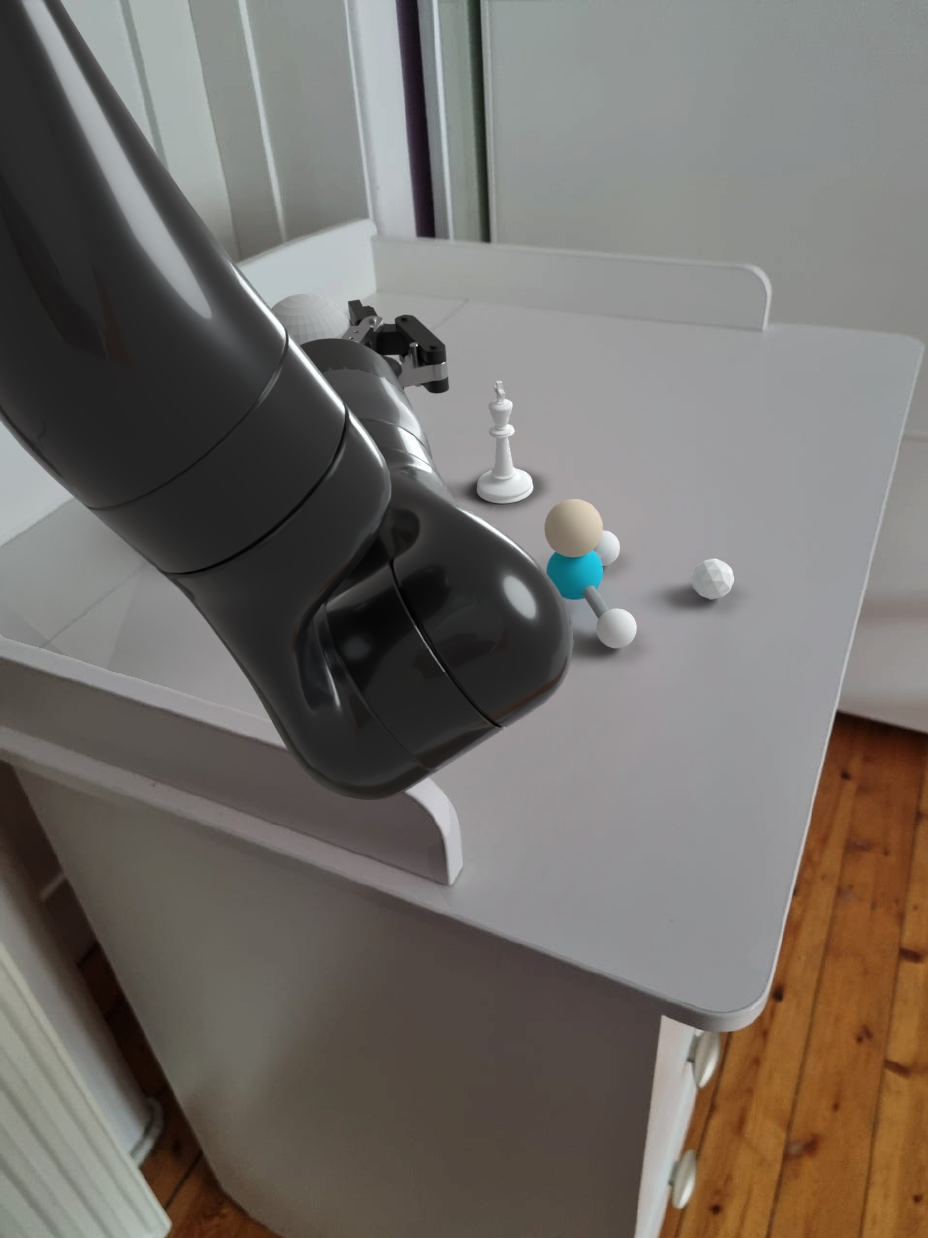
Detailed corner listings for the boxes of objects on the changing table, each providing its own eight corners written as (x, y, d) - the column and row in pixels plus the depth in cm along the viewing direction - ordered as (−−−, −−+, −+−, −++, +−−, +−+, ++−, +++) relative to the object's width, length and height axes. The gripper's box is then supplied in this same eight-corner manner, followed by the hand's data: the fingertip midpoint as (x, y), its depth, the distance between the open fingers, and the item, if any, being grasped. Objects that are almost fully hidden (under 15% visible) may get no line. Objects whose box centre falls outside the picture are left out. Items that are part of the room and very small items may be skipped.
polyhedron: (696, 610, 68) (700, 576, 66) (686, 585, 70) (689, 551, 68) (736, 606, 68) (740, 572, 66) (724, 581, 70) (728, 547, 68)
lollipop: (332, 486, 67) (293, 273, 58) (400, 504, 64) (371, 284, 55) (276, 530, 63) (224, 308, 54) (346, 551, 60) (305, 322, 51)
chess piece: (486, 508, 80) (479, 400, 74) (470, 481, 84) (461, 375, 78) (541, 496, 81) (538, 388, 75) (522, 469, 85) (518, 364, 78)
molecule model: (677, 643, 65) (686, 537, 59) (512, 683, 63) (506, 577, 58) (611, 550, 74) (614, 450, 69) (466, 582, 72) (457, 482, 67)
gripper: (484, 345, 44) (408, 243, 57) (170, 400, 42) (166, 281, 54) (493, 486, 48) (421, 362, 61) (211, 542, 46) (198, 401, 59)
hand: (301, 324), depth 58 cm, fingers closed on lollipop, 6 cm apart
